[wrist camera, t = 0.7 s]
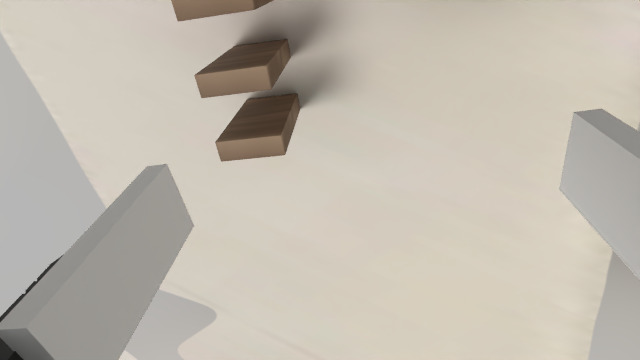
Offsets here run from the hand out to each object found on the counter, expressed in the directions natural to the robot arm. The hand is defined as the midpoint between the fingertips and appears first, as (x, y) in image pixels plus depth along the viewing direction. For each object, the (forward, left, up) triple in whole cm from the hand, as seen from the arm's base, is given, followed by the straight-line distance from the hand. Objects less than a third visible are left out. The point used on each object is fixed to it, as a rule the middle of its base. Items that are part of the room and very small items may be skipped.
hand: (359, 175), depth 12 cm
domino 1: (-5, -8, -24) cm, 26 cm away
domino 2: (0, -8, -24) cm, 25 cm away
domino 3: (+5, -8, -24) cm, 25 cm away
